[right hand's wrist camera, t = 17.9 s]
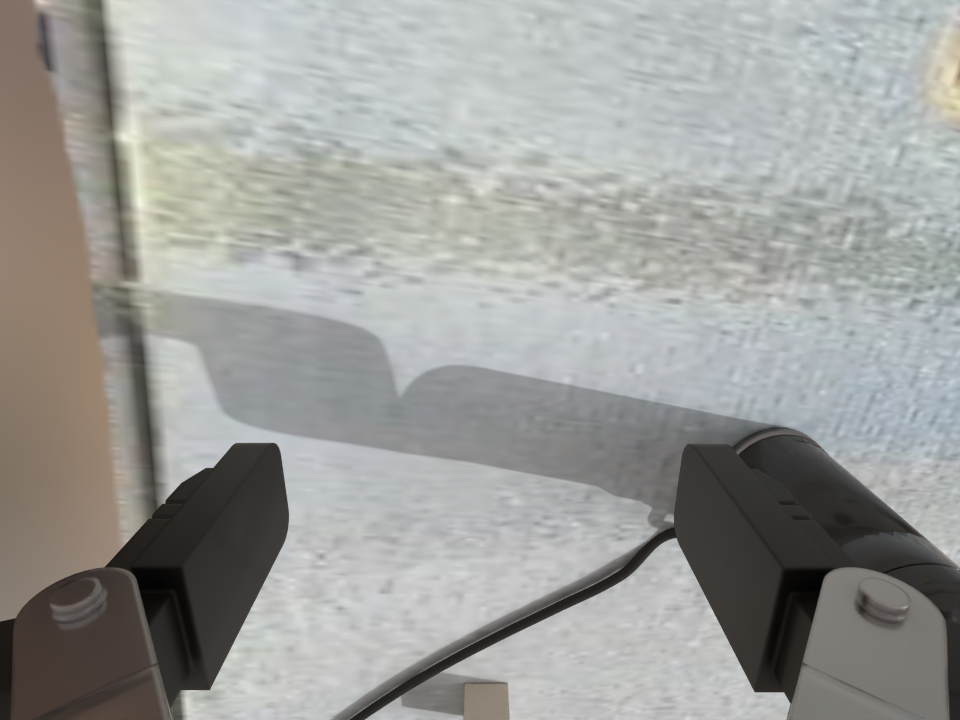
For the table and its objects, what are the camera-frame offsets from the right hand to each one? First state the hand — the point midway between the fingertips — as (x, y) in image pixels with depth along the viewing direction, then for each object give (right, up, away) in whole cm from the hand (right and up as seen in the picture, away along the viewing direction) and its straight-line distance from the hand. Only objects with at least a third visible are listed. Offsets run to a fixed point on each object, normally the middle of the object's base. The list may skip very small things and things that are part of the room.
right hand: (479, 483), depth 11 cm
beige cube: (+1, -34, +49) cm, 60 cm away
